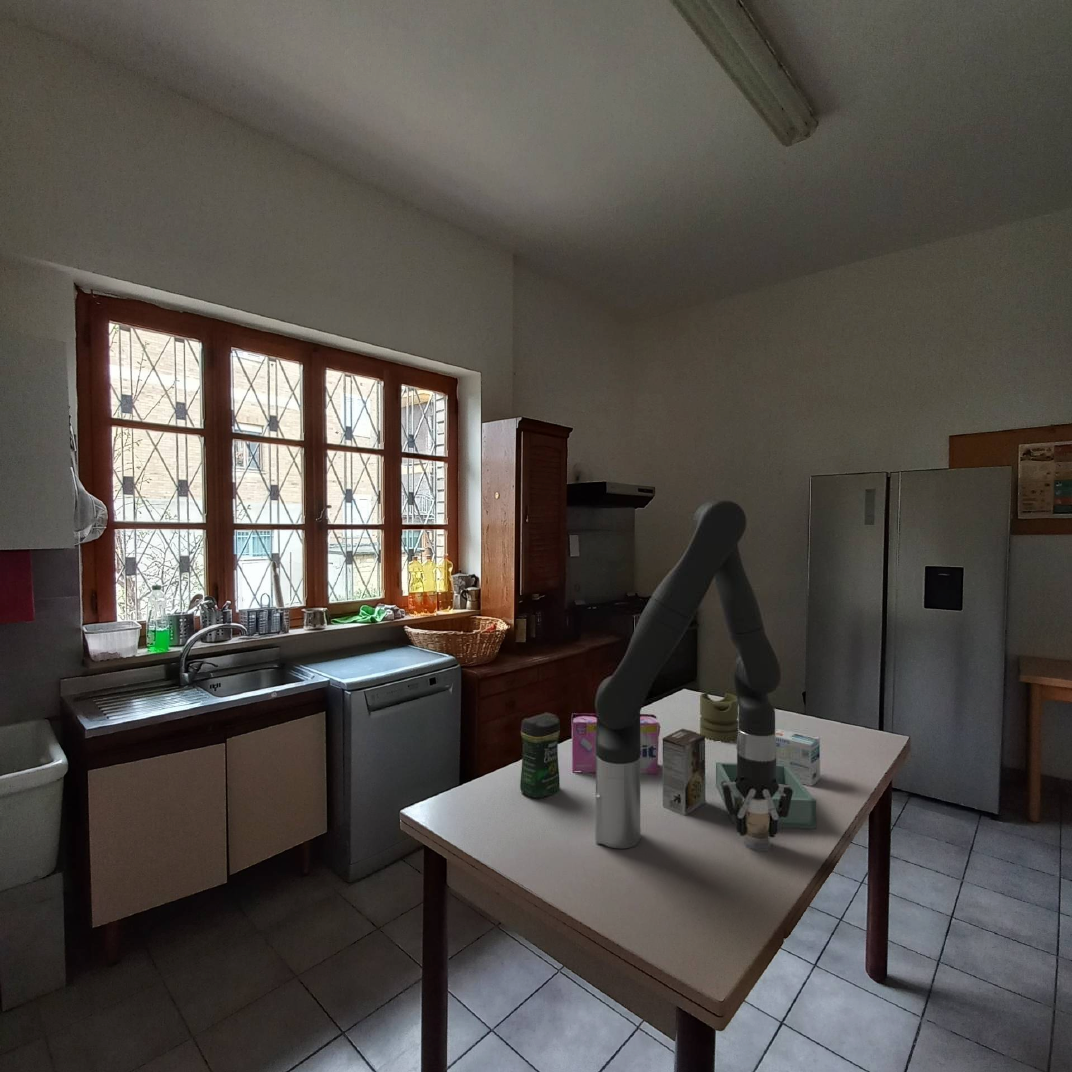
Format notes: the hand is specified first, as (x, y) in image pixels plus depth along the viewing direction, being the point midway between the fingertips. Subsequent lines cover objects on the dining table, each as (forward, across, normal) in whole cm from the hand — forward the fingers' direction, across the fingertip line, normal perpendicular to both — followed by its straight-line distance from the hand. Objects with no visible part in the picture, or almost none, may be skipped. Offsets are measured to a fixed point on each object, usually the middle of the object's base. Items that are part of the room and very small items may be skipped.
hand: (756, 834), depth 119 cm
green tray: (+2, +6, +17) cm, 18 cm away
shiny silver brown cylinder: (+2, 0, 0) cm, 2 cm away
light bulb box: (+2, +19, +34) cm, 39 cm away
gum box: (+2, -28, +36) cm, 45 cm away
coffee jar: (+2, -46, +20) cm, 50 cm away
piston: (+2, +6, +63) cm, 63 cm away
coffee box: (+2, -12, +16) cm, 20 cm away
